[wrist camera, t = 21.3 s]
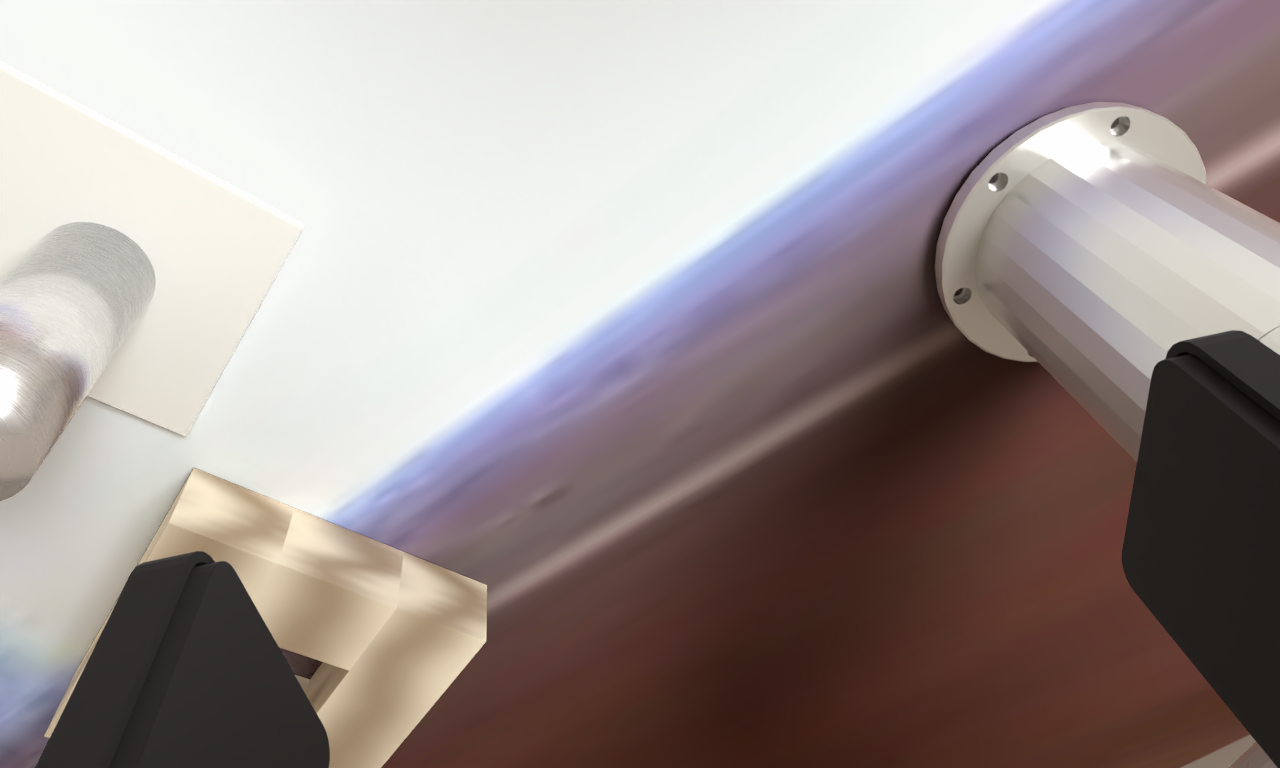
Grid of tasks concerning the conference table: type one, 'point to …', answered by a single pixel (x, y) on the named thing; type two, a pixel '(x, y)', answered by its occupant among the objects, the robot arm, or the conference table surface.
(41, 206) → the mat
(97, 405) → the conference table surface
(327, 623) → the socket block
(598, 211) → the conference table surface
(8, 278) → the steel cylinder
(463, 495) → the conference table surface
